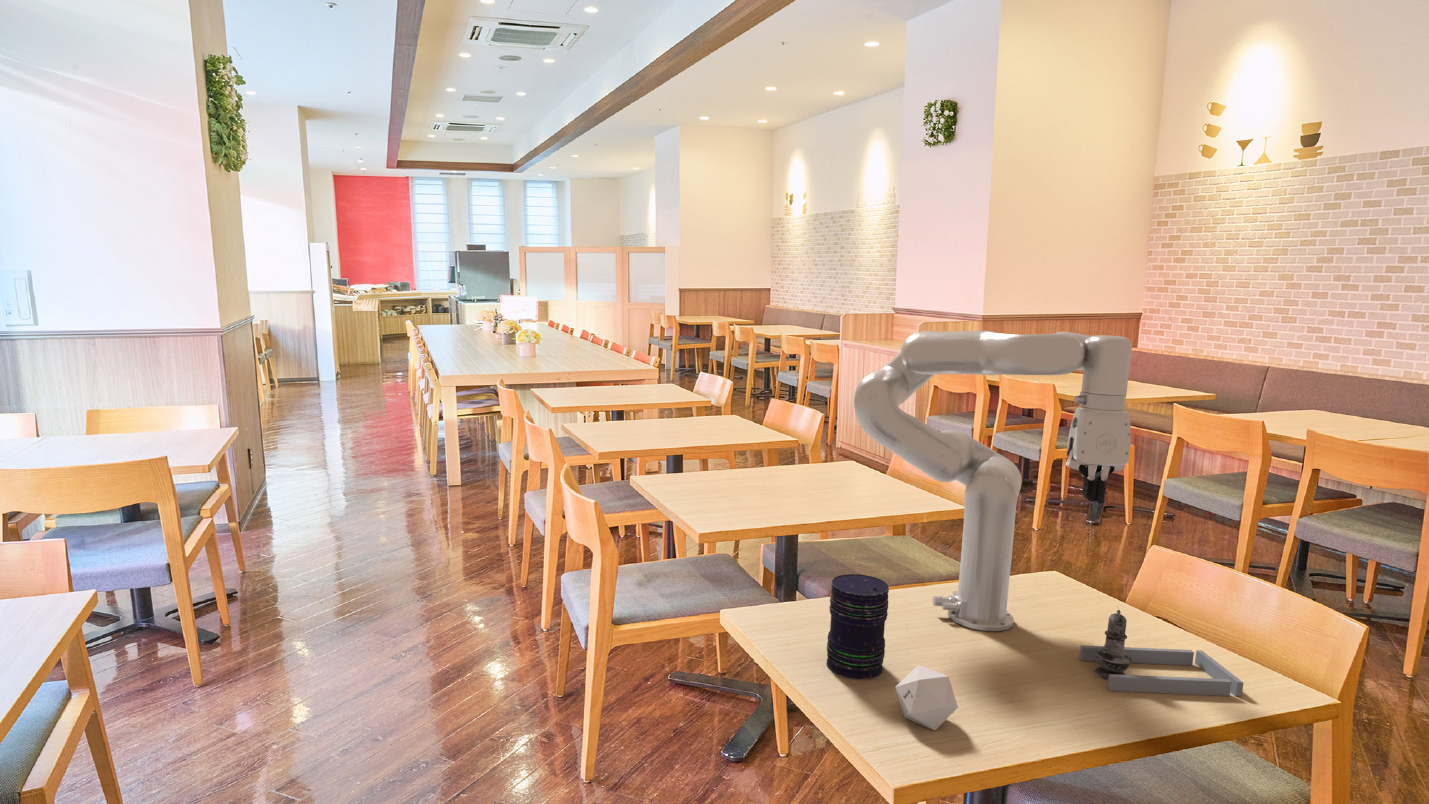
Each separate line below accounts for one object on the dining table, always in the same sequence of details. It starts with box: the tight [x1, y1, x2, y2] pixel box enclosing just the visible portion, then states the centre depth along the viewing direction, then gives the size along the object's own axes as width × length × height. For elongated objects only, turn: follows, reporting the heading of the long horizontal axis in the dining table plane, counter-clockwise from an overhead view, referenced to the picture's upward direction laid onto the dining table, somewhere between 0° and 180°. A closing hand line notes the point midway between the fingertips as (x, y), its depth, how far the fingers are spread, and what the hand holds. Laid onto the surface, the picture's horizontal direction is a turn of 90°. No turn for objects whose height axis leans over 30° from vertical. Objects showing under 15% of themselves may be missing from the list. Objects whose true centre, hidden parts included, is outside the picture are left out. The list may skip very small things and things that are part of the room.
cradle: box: [1078, 644, 1244, 698], centre depth 143 cm, size 22×12×2 cm, turn 90°
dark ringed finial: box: [1094, 609, 1132, 681], centre depth 142 cm, size 6×6×12 cm
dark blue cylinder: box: [826, 573, 890, 681], centre depth 141 cm, size 10×10×15 cm
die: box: [895, 664, 959, 731], centre depth 125 cm, size 8×9×10 cm
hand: (1091, 499), depth 154 cm, fingers closed
